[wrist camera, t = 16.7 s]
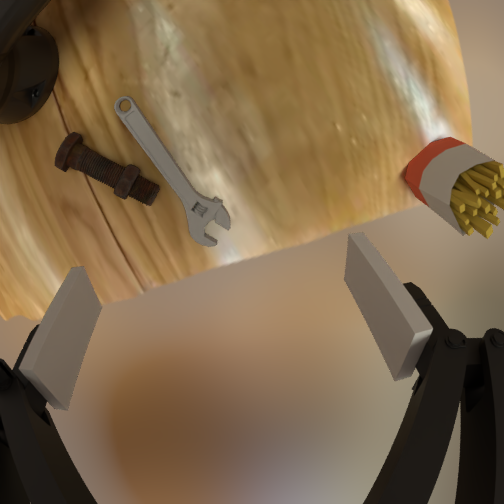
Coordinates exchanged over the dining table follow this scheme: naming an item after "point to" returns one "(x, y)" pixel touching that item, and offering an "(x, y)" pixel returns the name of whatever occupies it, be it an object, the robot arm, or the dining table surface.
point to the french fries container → (458, 185)
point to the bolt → (105, 170)
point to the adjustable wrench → (175, 176)
